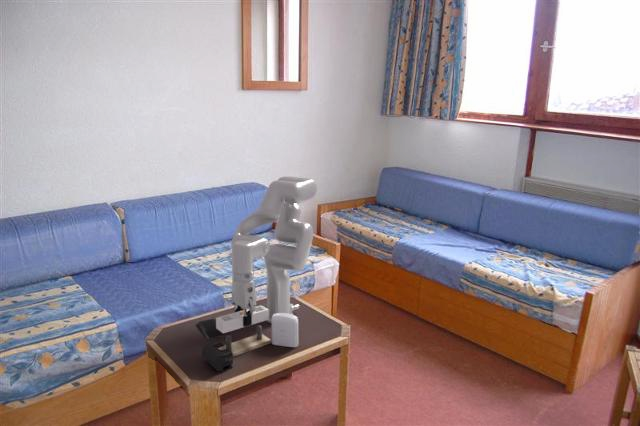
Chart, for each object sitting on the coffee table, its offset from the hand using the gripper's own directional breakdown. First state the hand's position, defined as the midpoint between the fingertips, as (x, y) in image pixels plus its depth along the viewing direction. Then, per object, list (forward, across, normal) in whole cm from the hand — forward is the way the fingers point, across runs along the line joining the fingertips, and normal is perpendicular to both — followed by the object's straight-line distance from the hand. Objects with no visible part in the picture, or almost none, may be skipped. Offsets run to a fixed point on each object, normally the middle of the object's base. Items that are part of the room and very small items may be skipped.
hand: (243, 322), depth 182 cm
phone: (+11, +20, +2) cm, 23 cm away
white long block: (+1, 0, 0) cm, 1 cm away
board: (+10, 0, -1) cm, 10 cm away
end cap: (+11, -5, +13) cm, 18 cm away
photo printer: (+10, -7, -14) cm, 19 cm away
